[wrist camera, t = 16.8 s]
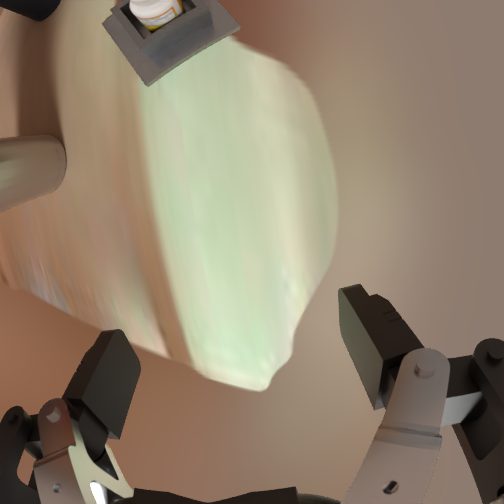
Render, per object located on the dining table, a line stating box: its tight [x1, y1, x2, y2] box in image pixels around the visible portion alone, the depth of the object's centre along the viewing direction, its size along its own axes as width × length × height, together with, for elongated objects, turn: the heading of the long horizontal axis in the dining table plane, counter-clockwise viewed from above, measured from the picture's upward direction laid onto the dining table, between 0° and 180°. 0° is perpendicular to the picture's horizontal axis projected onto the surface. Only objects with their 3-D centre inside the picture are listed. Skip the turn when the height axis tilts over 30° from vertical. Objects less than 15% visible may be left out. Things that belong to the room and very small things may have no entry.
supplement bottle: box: [130, 0, 186, 34], centre depth 20 cm, size 5×5×10 cm
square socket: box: [102, 0, 240, 87], centre depth 23 cm, size 14×14×6 cm
